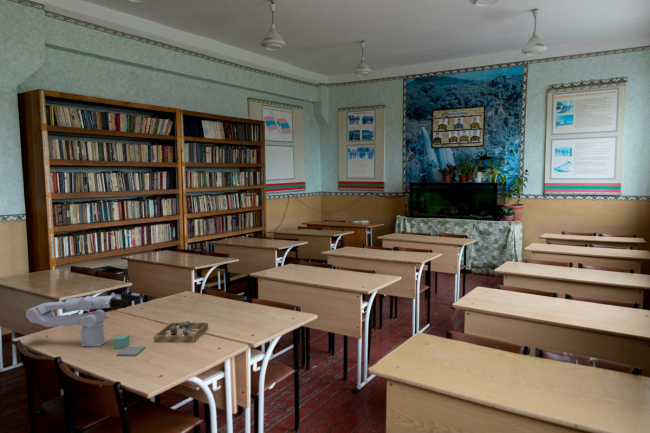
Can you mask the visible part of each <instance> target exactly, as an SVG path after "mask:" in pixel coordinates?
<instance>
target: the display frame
mask: <svg viewBox="0 0 650 433" xmlns="http://www.w3.org/2000/svg"><path fill="white" fill-rule="evenodd" d="M179 323H180V322H179V321H177V322H170V323H168V325H166V326H165V327H163V328H162V329H161V330H159V332H157V333H156V334H155V335H154V336H153V343H195V342H196V341H197V340H198V339H199V338H200V337H202V335H203V334H204V333H205V332H206V331H208V329H209V322H195V323H191V325H190V327H184V328H185V329H188V330H189V329H191V330H192V329H193V330H195V329H196V330H197V331H196V332H195V333H194V334H193V335H187V336H185V335H184V336H182V335H167V334H166V331H169V330H170V328H171V326H176V327H177V326H179ZM178 328H179V329H181V330H182V329H183V328H180V327H178ZM179 329H178V330H179ZM183 330H184V329H183Z"/></svg>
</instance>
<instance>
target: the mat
mask: <svg viewBox="0 0 650 433" xmlns="http://www.w3.org/2000/svg"><path fill="white" fill-rule="evenodd" d="M146 348H147V347H146V346H127V347H126V348H124V349H121V351H119V352H117V353H116V356H117V357H137V356H138V355H140V354H141V353H142V352H143V351H144V350H146Z"/></svg>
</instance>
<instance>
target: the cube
mask: <svg viewBox="0 0 650 433" xmlns="http://www.w3.org/2000/svg"><path fill="white" fill-rule="evenodd" d="M112 341H113V343H112V344H113V345H112V346H113V349H114V350H123V349H124V348H126V347H127V346H128V347H130V345H131V344H130V335H129V334H118V335H116V336H115V337H114V338H113V340H112Z"/></svg>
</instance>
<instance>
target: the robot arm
mask: <svg viewBox="0 0 650 433" xmlns="http://www.w3.org/2000/svg"><path fill="white" fill-rule="evenodd" d="M136 300H137V295H134V294H128V293H127V292H121V293H120V295H118V294H116V293H115V292H112V293H111V294H110V295H101V296H92V295H86V296H85V297H82V296H79V297H77V298H74V297H73V296H72V297H71V296H70V297H69V298H67V299H66V300H65V301H52V302H51V301H47V302H42V303H41V304H38V305H36V306H34V307H30V308H28V309H27V310H26V312H25V317H26V318H27V320H28V321H29V322H30V323H31V324H38V325H40V326H44V327H45V328H53V327H66V326H67V327H68V326H81V327H82V328H81V332H80V338H81V345H80V346H81V347H100V346H101V347H102V345H103V344H105V343H107V342H108V341H109V338H108V339H107V338H106V339H105V327H104V322H105V320H106V319H107V314H106V312H105V311H104V310H103V309H109V308H110V310H111V311H114V310H115V309H117V308H120V307H123V306H127V305H129V303H130V302H134V301H136ZM93 309H95V310H94V311H90V312H87V313H86V311H88V310H93ZM56 310H58V311H59V310H65V311H67V312H68V311H70V312H71V311H83V312H85V313H77V314H74V313H73V314H62V315H55V312H54V311H56Z"/></svg>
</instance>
